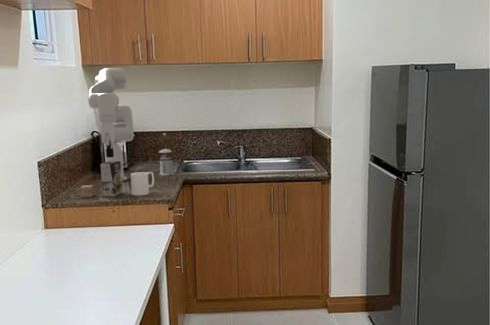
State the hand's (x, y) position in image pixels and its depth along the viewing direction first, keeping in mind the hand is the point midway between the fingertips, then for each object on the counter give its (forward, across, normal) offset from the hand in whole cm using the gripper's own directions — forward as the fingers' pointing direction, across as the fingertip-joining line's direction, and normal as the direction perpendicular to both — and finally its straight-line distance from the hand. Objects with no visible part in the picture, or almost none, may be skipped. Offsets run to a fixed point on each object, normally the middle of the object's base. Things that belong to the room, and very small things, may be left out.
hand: (110, 157), depth 228 cm
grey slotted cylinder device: (+18, -54, +26) cm, 63 cm away
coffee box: (+19, 0, 0) cm, 19 cm away
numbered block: (+19, 0, -12) cm, 22 cm away
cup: (+19, 0, +15) cm, 24 cm away
